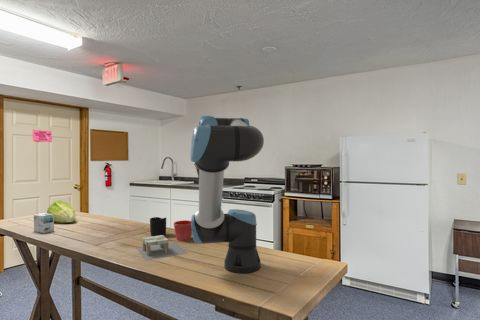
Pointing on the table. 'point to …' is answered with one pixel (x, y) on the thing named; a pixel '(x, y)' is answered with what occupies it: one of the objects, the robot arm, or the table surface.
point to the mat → (162, 251)
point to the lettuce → (61, 212)
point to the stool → (155, 243)
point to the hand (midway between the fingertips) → (207, 197)
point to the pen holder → (157, 226)
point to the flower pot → (183, 230)
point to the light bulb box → (43, 223)
